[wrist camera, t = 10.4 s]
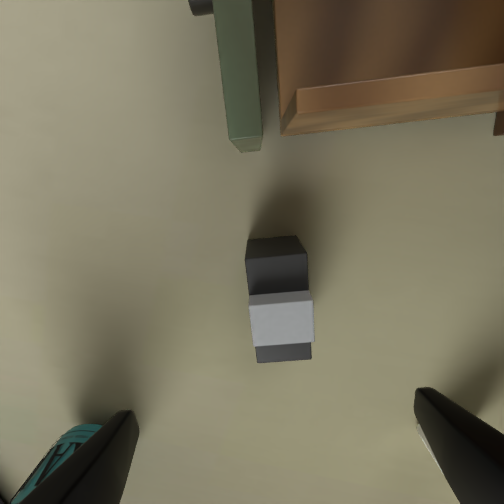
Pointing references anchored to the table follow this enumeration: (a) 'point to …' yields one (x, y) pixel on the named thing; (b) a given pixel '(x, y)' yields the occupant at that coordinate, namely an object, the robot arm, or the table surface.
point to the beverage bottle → (56, 457)
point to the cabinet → (499, 124)
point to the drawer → (360, 63)
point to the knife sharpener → (279, 299)
